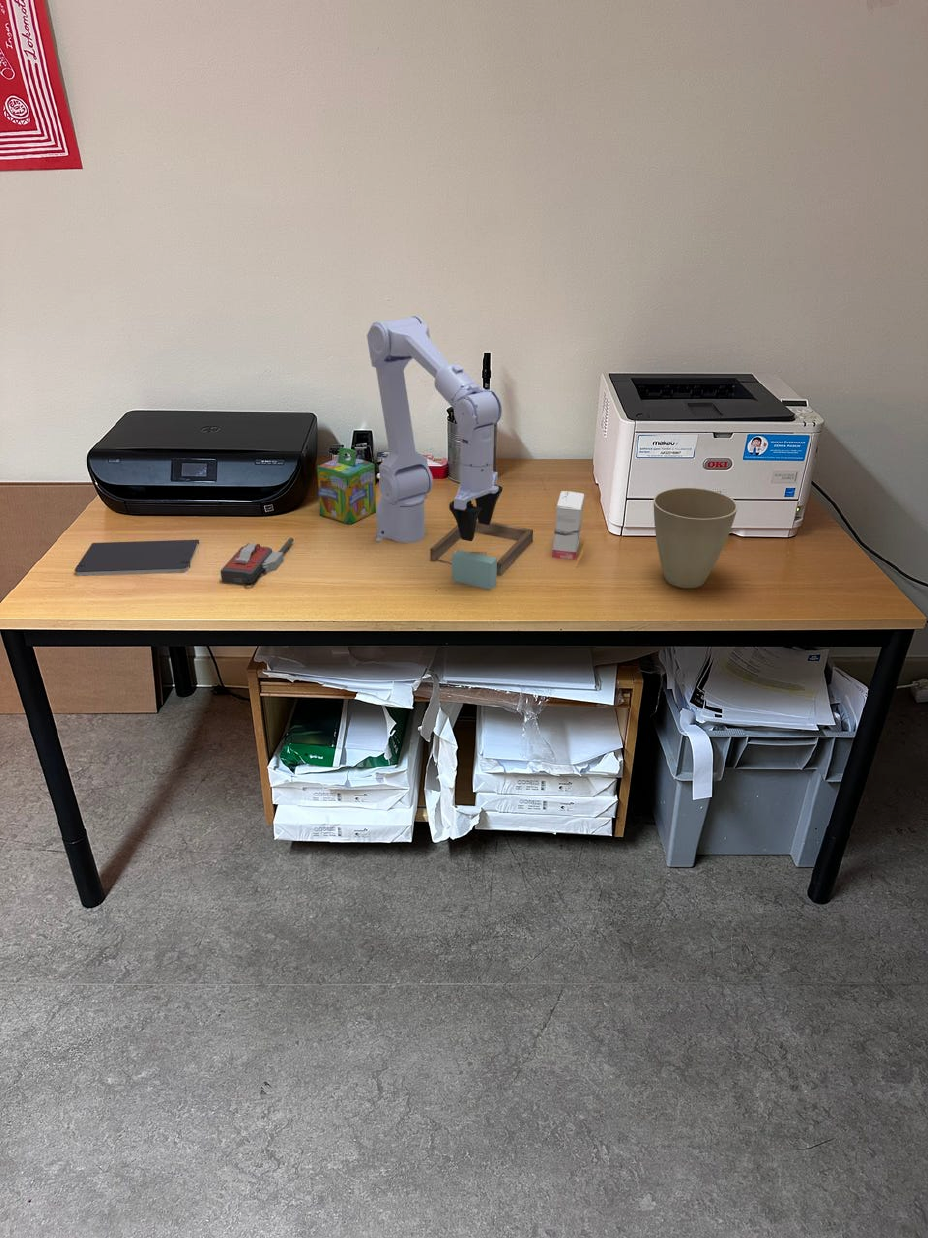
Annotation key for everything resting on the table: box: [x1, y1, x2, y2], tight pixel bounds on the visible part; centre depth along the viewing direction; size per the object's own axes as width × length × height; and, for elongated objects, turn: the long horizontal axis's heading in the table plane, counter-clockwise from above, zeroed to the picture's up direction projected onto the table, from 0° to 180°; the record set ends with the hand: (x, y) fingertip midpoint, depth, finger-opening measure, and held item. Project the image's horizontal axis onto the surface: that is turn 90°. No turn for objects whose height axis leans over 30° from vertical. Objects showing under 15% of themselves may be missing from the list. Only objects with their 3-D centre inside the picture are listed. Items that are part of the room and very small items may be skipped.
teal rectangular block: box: [451, 549, 498, 591], centre depth 160 cm, size 8×2×6 cm, turn 65°
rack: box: [429, 518, 534, 577], centre depth 172 cm, size 15×17×4 cm
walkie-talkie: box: [219, 537, 294, 586], centre depth 168 cm, size 9×4×20 cm
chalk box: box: [316, 446, 377, 526], centre depth 186 cm, size 9×9×15 cm
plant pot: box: [653, 486, 739, 589], centre depth 160 cm, size 15×15×16 cm
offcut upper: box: [453, 551, 488, 556], centre depth 168 cm, size 6×3×2 cm, turn 91°
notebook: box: [74, 539, 200, 577], centre depth 171 cm, size 13×2×21 cm
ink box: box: [551, 490, 585, 560], centre depth 171 cm, size 9×5×12 cm, turn 168°
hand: (475, 531), depth 158 cm, fingers open, 7 cm apart
